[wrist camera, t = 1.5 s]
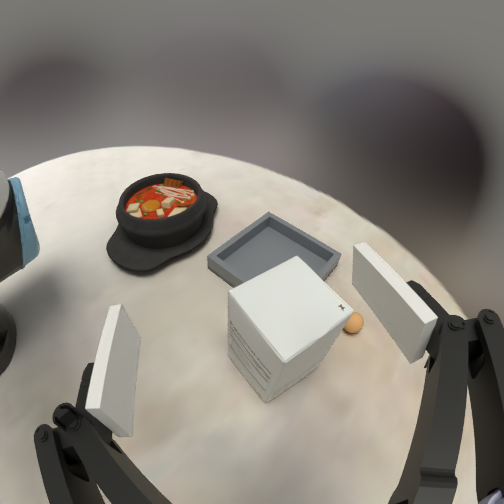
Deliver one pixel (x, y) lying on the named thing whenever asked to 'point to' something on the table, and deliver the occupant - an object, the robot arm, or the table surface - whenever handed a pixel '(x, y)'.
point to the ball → (354, 323)
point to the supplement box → (282, 326)
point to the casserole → (160, 221)
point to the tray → (269, 251)
